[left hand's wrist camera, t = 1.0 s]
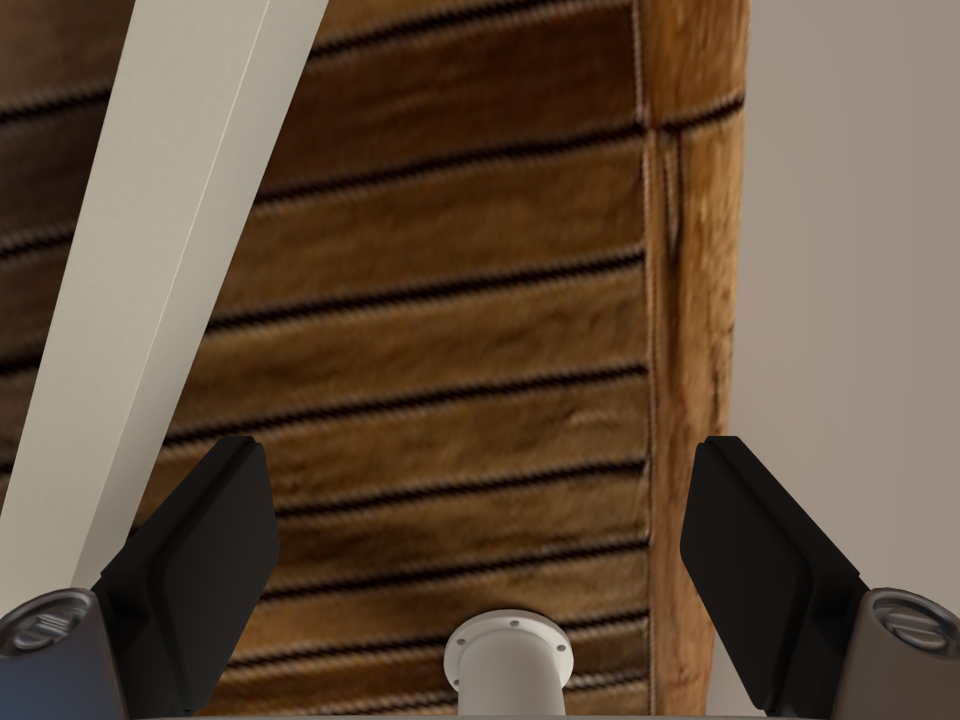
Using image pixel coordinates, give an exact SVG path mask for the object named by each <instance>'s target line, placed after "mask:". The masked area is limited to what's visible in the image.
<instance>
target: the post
mask: <svg viewBox="0 0 960 720" xmlns="http://www.w3.org/2000/svg"><path fill="white" fill-rule="evenodd" d="M328 1H329V0H136V1H135V5H134V9H133V13H132V16H131V20H130V24H129V28H128V32H127V36H126V39H125V43H124V47H123V51H122V55H121V59H120V62H119V66H118V70H117V74H116V78H115V81H114V85H113V89H112V93H111V97H110V101H109V104H108V108H107V112H106V116H105V120H104V123H103V127H102V131H101V135H100V139H99V143H98V146H97V150H96V154H95V158H94V162H93V165H92V169H91V173H90V177H89V181H88V185H87V188H86V192H85V196H84V200H83V204H82V208H81V211H80V215H79V219H78V223H77V227H76V230H75V234H74V238H73V242H72V246H71V250H70V253H69V257H68V261H67V265H66V269H65V272H64V276H63V280H62V284H61V288H60V292H59V295H58V299H57V303H56V307H55V311H54V315H53V318H52V322H51V326H50V330H49V334H48V337H47V341H46V345H45V349H44V353H43V357H42V360H41V364H40V368H39V372H38V376H37V379H36V383H35V387H34V391H33V395H32V399H31V402H30V406H29V410H28V414H27V418H26V421H25V425H24V429H23V433H22V437H21V441H20V444H19V448H18V452H17V456H16V460H15V464H14V467H13V471H12V475H11V479H10V483H9V486H8V490H7V494H6V498H5V502H4V506H3V509H2V513H1V517H0V619H1V618H2V617H3V616H4V615H5V614H7V613H8V612H10V611H12V610H13V609H15V608H16V607H18V606H19V605H21V604H22V603H25V602H27V601H29V600H31V599H33V598H35V597H37V596H39V595H42V594H45V593H48V592H51V591H55V590H59V589H65V588H72V587H73V588H86V589H88V590H90V589H91V588H92V587H93V585H94V584H95V583H96V582H97V581H98V580H99V579H100V578H101V575H100V572H101V571H102V570H103V569H104V568H105V567H106V566H107V565H108V564H109V562H110V561H111V560H112V559H113V558H114V557H115V556H116V555H117V553H118V552H119V551H120V550H121V549H122V548H123V547H124V544H125V541H126V539H127V536H128V533H129V531H130V528H131V525H132V523H133V520H134V517H135V515H136V512H137V509H138V507H139V504H140V501H141V499H142V496H143V493H144V491H145V488H146V485H147V483H148V480H149V477H150V475H151V472H152V469H153V467H154V464H155V461H156V459H157V456H158V453H159V451H160V448H161V445H162V443H163V440H164V437H165V435H166V432H167V429H168V427H169V424H170V422H171V419H172V416H173V414H174V411H175V408H176V406H177V403H178V400H179V398H180V395H181V392H182V390H183V387H184V384H185V382H186V379H187V376H188V374H189V371H190V368H191V366H192V363H193V360H194V358H195V355H196V352H197V350H198V347H199V344H200V342H201V339H202V336H203V334H204V331H205V328H206V326H207V323H208V320H209V318H210V315H211V312H212V310H213V307H214V304H215V302H216V299H217V296H218V294H219V291H220V289H221V286H222V283H223V281H224V278H225V275H226V273H227V270H228V267H229V265H230V262H231V259H232V257H233V254H234V251H235V249H236V246H237V243H238V241H239V238H240V235H241V233H242V230H243V227H244V225H245V222H246V219H247V217H248V214H249V211H250V209H251V206H252V203H253V201H254V198H255V195H256V193H257V190H258V187H259V185H260V182H261V179H262V177H263V174H264V171H265V169H266V166H267V163H268V161H269V158H270V156H271V153H272V150H273V148H274V145H275V142H276V140H277V137H278V134H279V132H280V129H281V126H282V124H283V121H284V118H285V116H286V113H287V110H288V108H289V105H290V102H291V100H292V97H293V94H294V92H295V89H296V86H297V84H298V81H299V78H300V76H301V73H302V70H303V68H304V65H305V62H306V60H307V57H308V54H309V52H310V49H311V46H312V44H313V41H314V38H315V36H316V33H317V31H318V28H319V25H320V23H321V20H322V17H323V15H324V12H325V9H326V7H327V4H328Z"/></svg>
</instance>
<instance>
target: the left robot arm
mask: <svg viewBox="0 0 960 720" xmlns="http://www.w3.org/2000/svg"><path fill="white" fill-rule="evenodd" d="M279 553H280V540H279V534H278V528H277V523H276V517H275V511H274V505H273V499H272V494H271V488H270V482H269V476H268V470H267V465H266V459H265V453H264V448H263V445H262V444H261V443H256V442H255V440H254V438H253V437H252V436H223V437H222V438H220V439H219V440H218V442H217V443H216V444H215V445H214V446H213V447H212V448H211V449H210V451H209V452H208V453H207V454H206V455H205V456H204V457H203V458H202V460H201V461H200V462H199V463H198V464H197V465H196V466H195V467H194V468H193V470H192V471H191V472H190V473H189V474H188V475H187V476H186V477H185V479H184V480H183V481H182V482H181V483H180V484H179V485H178V486H177V487H176V489H175V490H174V491H173V492H172V493H171V494H170V495H169V496H168V498H167V499H166V500H165V501H164V502H163V503H162V504H161V505H160V506H159V508H158V509H157V510H156V511H155V512H154V513H153V514H152V515H151V517H150V518H149V519H148V520H147V521H146V522H145V523H144V524H143V526H142V527H141V528H140V529H139V530H138V531H137V532H136V533H135V534H134V536H133V537H132V538H131V539H130V540H129V541H128V542H127V543H126V545H125V546H124V547H123V548H122V549H121V550H120V551H119V552H118V553H117V555H116V556H115V557H114V558H113V559H112V560H111V561H110V562H109V564H108V565H107V566H106V567H105V568H104V569H103V570H102V571H101V572H100V575H101V578H100V579H99V580H98V581H97V582H96V583H95V584H94V585H93V587H92V588H91V589H90V590H88V589H86V588H73V587H72V588H65V589H59V590H55V591H51V592H48V593H45V594H42V595H39V596H37V597H35V598H33V599H31V600H29V601H27V602H25V603H22V604H21V605H19V606H18V607H16V608H15V609H13V610H12V611H10V612H8V613H7V614H5V615H4V616H3V617H2V618H1V619H0V720H960V619H959V618H958V617H957V616H956V615H955V614H953V613H952V612H950V611H948V610H947V609H945V608H944V607H942V606H941V605H939V604H938V603H935V602H933V601H931V600H929V599H927V598H925V597H923V596H921V595H918V594H915V593H912V592H908V591H905V590H901V589H894V588H888V587H887V588H874V589H872V590H870V589H869V588H868V587H867V586H866V584H865V583H864V582H863V581H862V580H861V579H860V578H859V575H860V573H859V571H858V570H857V569H856V568H855V567H854V566H853V565H852V564H851V562H850V561H849V560H848V559H847V558H846V557H845V556H844V555H843V553H842V552H841V551H840V550H839V549H838V548H837V547H836V546H835V545H834V543H833V542H832V541H831V540H830V539H829V538H828V537H827V536H826V534H825V533H824V532H823V531H822V530H821V529H820V528H819V527H818V526H817V524H816V523H815V522H814V521H813V520H812V519H811V518H810V517H809V515H808V514H807V513H806V512H805V511H804V510H803V509H802V508H801V506H800V505H799V504H798V503H797V502H796V501H795V500H794V499H793V498H792V496H791V495H790V494H789V493H788V492H787V491H786V490H785V489H784V488H783V486H782V485H781V484H780V483H779V482H778V481H777V480H776V479H775V477H774V476H773V475H772V474H771V473H770V472H769V471H768V470H767V468H766V467H765V466H764V465H763V464H762V463H761V462H760V461H759V460H758V458H757V457H756V456H755V455H754V454H753V453H752V452H751V451H750V449H749V448H748V447H747V446H746V445H745V444H744V443H743V442H742V441H741V439H740V438H738V437H737V436H708V437H707V438H706V440H705V442H704V443H699V444H698V445H697V448H696V453H695V459H694V465H693V470H692V476H691V482H690V488H689V494H688V499H687V505H686V511H685V517H684V523H683V528H682V534H681V540H680V553H681V558H682V561H683V563H684V565H685V567H686V569H687V571H688V573H689V575H690V577H691V579H692V581H693V583H694V585H695V587H696V589H697V591H698V593H699V596H700V598H701V600H702V602H703V604H704V606H705V608H706V610H707V612H708V614H709V616H710V618H711V620H712V622H713V624H714V626H715V628H716V630H717V632H718V634H719V636H720V638H721V640H722V642H723V644H724V646H725V649H726V650H727V653H728V655H729V657H730V659H731V661H732V663H733V665H734V667H735V669H736V671H737V673H738V675H739V677H740V679H741V681H742V683H743V685H744V687H745V689H746V691H747V693H748V695H749V697H750V699H751V701H752V703H753V705H754V706H755V707H756V708H757V709H759V710H764V711H765V713H766V715H767V717H753V716H569V715H565V708H564V701H563V695H562V687H563V686H564V685H565V684H566V682H567V681H568V679H569V678H570V675H571V672H572V669H573V654H572V648H571V645H570V642H569V639H568V638H567V636H566V635H565V633H564V632H563V631H562V630H561V629H560V628H559V627H558V626H557V625H556V624H555V623H553V622H552V621H550V620H549V619H547V618H545V617H543V616H541V615H538V614H536V613H532V612H528V611H524V610H514V609H507V610H496V611H491V612H486V613H483V614H481V615H478V616H475V617H473V618H471V619H470V620H468V621H466V622H464V623H463V624H462V625H461V626H460V627H458V628H457V629H456V630H455V632H454V633H453V634H452V635H451V636H450V638H449V640H448V642H447V644H446V648H445V653H444V669H445V674H446V676H447V679H448V681H449V683H450V684H451V685H452V686H453V688H454V689H455V690H456V691H457V692H458V693H459V695H458V715H393V716H206V717H193V715H194V713H195V711H196V710H201V709H203V708H204V707H205V706H206V705H207V703H208V701H209V699H210V697H211V695H212V693H213V691H214V689H215V687H216V685H217V683H218V681H219V679H220V677H221V675H222V673H223V671H224V669H225V667H226V665H227V663H228V661H229V659H230V657H231V655H232V653H233V651H234V649H235V646H236V644H237V642H238V640H239V638H240V636H241V634H242V632H243V630H244V628H245V626H246V624H247V622H248V620H249V618H250V616H251V614H252V612H253V610H254V608H255V606H256V604H257V602H258V600H259V598H260V596H261V593H262V591H263V589H264V587H265V585H266V583H267V581H268V579H269V577H270V575H271V573H272V571H273V569H274V567H275V565H276V563H277V561H278V558H279Z"/></svg>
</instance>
